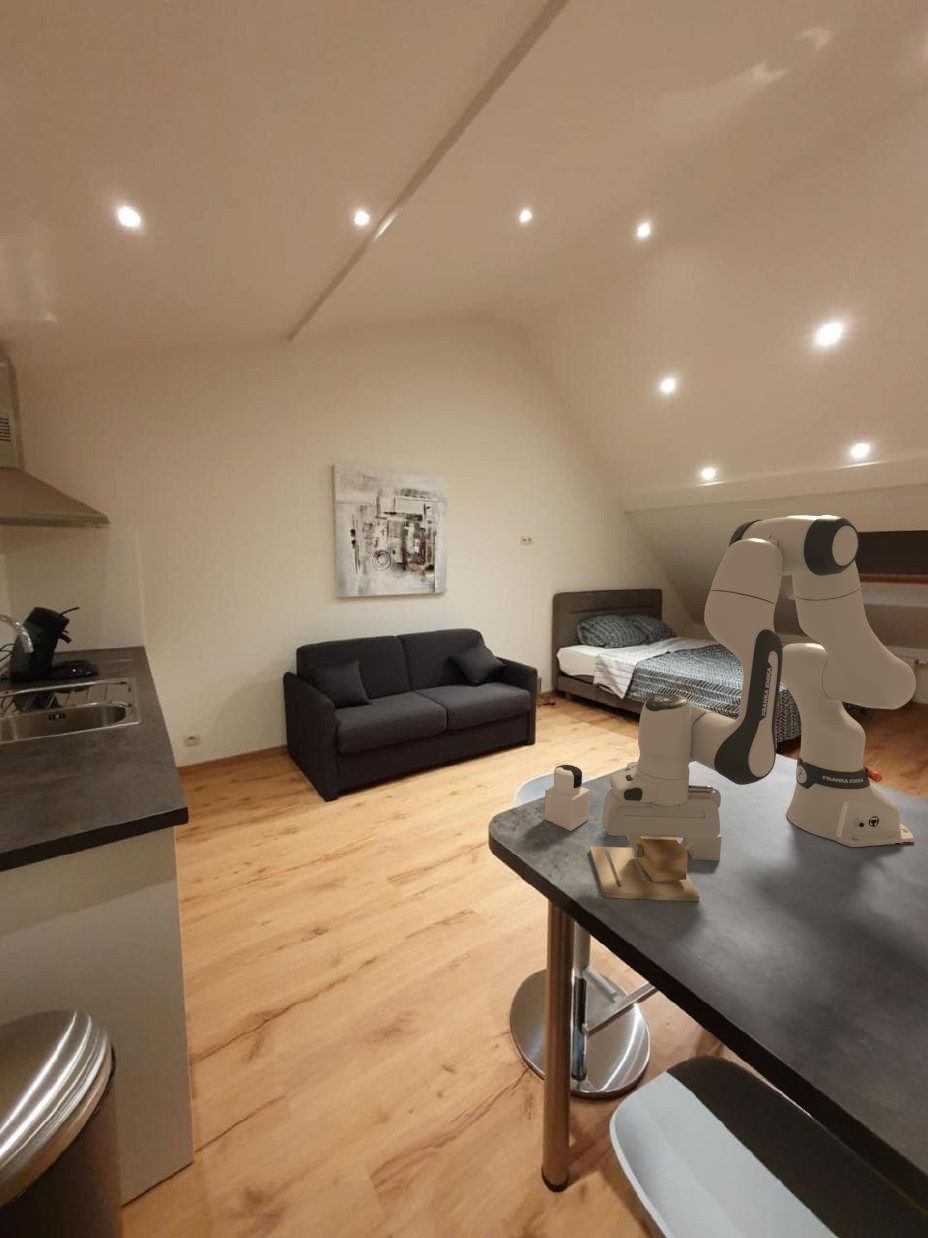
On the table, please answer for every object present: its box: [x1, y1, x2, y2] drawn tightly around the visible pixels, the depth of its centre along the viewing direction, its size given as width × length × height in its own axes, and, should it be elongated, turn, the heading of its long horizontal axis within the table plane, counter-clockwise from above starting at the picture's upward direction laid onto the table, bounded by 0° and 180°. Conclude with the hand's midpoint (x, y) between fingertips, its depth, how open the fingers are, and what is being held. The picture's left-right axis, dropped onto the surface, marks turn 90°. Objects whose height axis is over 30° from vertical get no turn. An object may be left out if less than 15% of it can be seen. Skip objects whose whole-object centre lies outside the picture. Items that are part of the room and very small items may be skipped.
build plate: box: [589, 845, 700, 902], centre depth 97 cm, size 16×14×1 cm
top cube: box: [687, 834, 722, 861], centre depth 104 cm, size 5×5×5 cm
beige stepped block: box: [544, 764, 591, 832], centre depth 116 cm, size 7×7×12 cm
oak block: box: [634, 836, 689, 882], centre depth 96 cm, size 6×9×5 cm, turn 6°
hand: (658, 856), depth 96 cm, fingers closed on oak block, 6 cm apart
